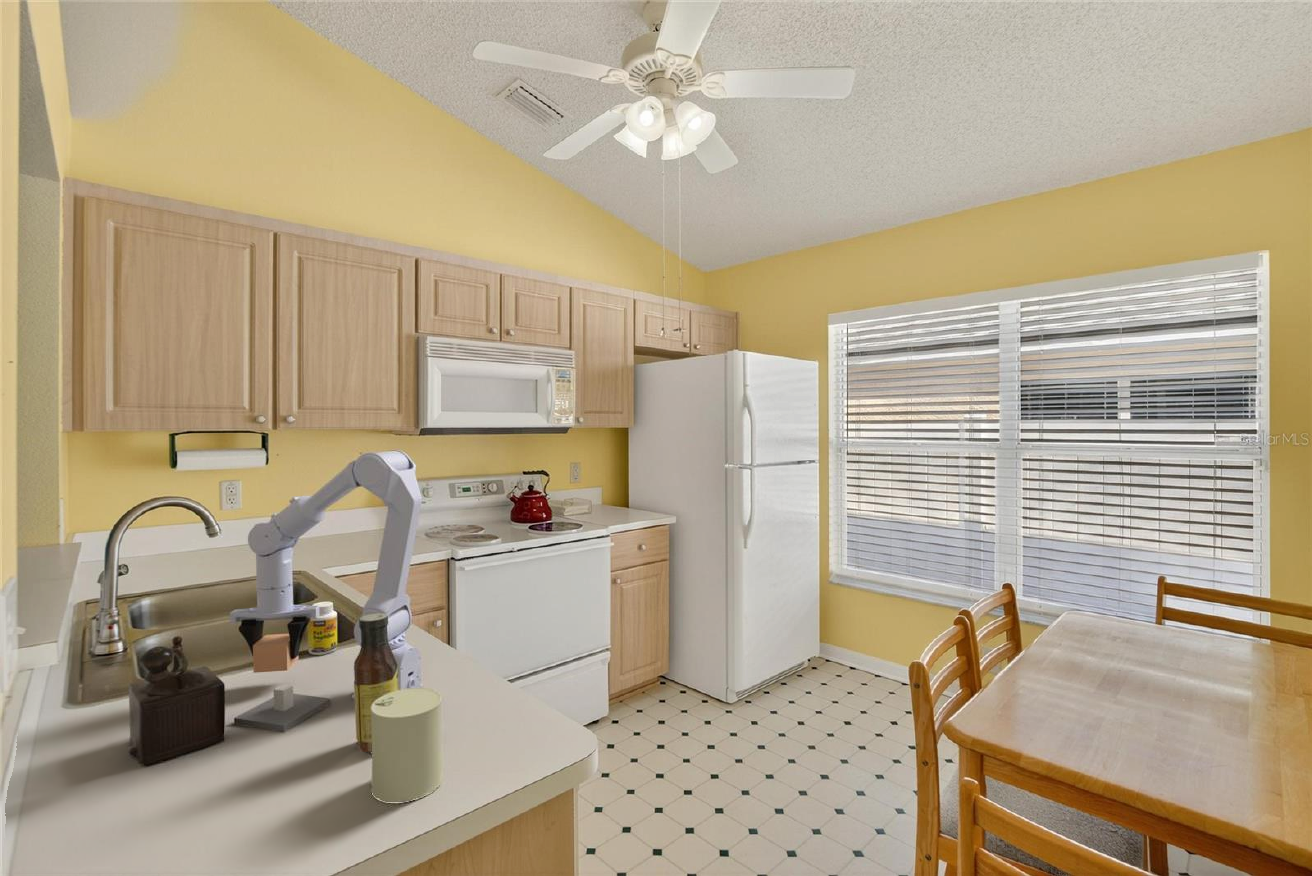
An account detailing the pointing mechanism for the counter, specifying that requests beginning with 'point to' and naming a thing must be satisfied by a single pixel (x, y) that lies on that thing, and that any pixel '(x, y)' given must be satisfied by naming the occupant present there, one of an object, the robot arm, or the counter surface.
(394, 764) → the can
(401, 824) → the counter surface
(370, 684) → the sauce bottle
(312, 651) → the supplement bottle
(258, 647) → the orange cube
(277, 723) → the shaft base
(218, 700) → the dark brown boxy piece
